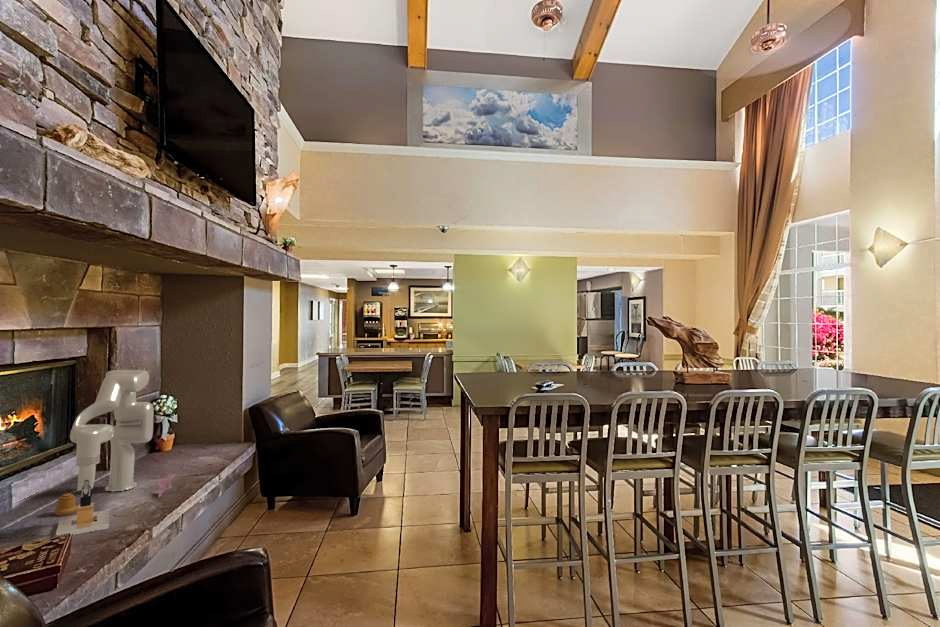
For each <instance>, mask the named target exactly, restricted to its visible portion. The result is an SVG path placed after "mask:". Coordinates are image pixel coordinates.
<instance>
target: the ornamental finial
mask: <svg viewBox="0 0 940 627" xmlns="http://www.w3.org/2000/svg"><path fill="white" fill-rule="evenodd" d="M77 507H78V505H76V496H75V495H74V494H72V493H70V492H69V493H65V494H63V495H61V496H59V498H58V499H57V505H56V508H55V509H54V511H53V513H54V515H55V516H57V517H66V516H70V515H72V514H75V512H77Z"/></svg>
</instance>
